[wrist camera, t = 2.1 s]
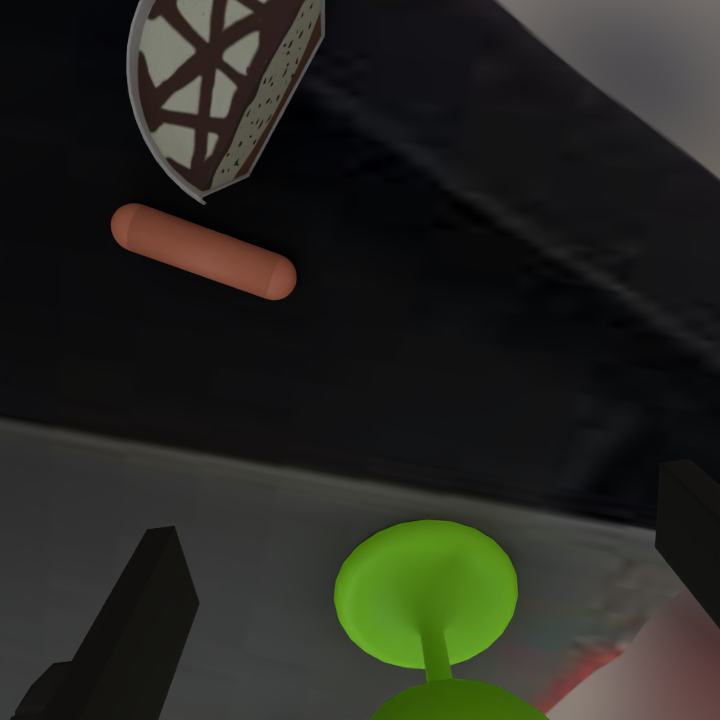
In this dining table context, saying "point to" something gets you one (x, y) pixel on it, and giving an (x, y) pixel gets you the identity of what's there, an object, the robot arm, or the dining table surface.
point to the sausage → (203, 251)
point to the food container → (216, 81)
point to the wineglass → (432, 615)
